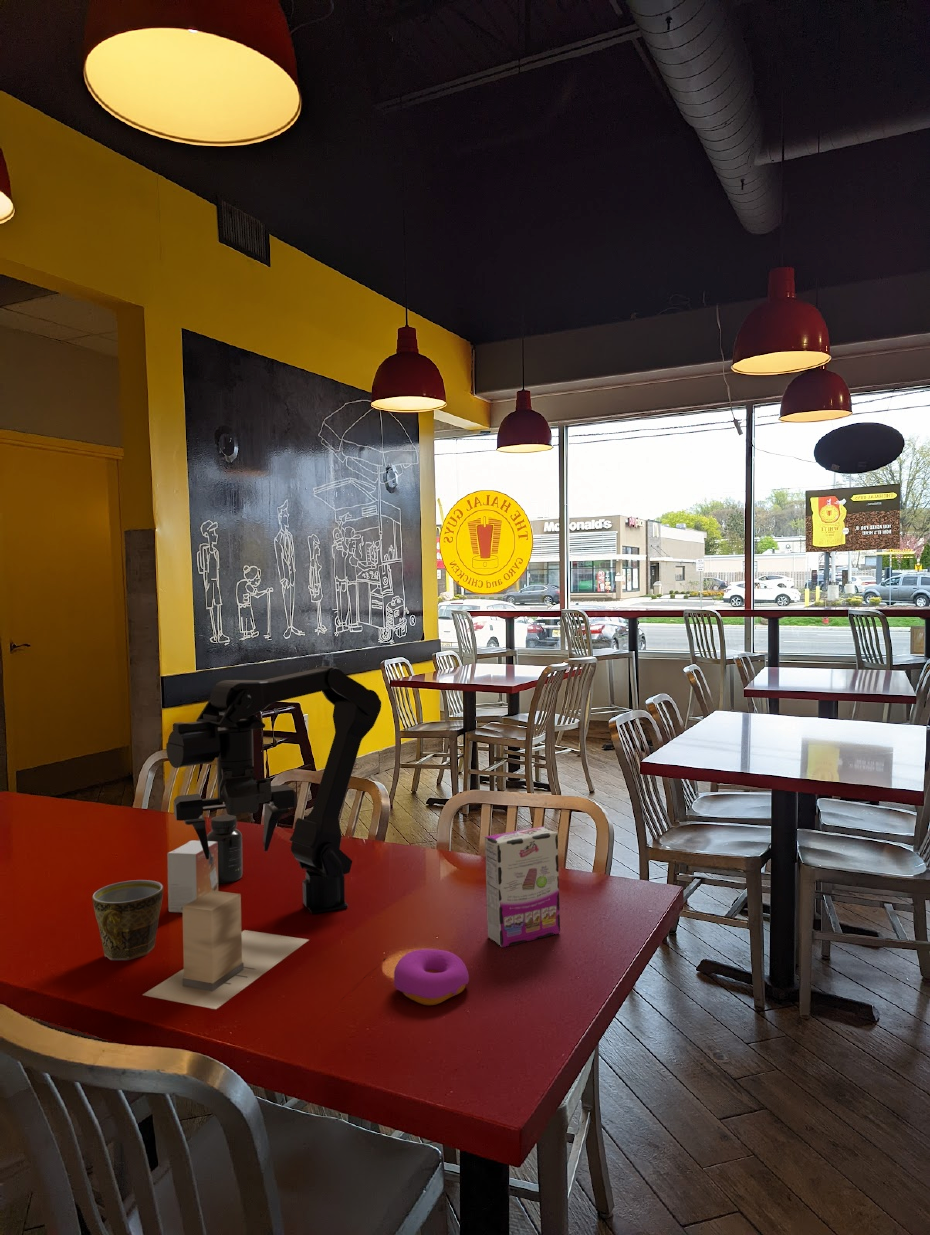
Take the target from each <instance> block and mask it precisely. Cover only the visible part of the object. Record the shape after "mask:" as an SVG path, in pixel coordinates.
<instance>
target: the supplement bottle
mask: <svg viewBox="0 0 930 1235" xmlns="http://www.w3.org/2000/svg"><path fill="white" fill-rule="evenodd" d="M237 820H238V819H237V815H233V816H232V815H229V814H223V815H221V814H220V815H217V816H213V817H212V818H211V819H210V829H211V831H210V832H208V834H207V840H208V841H214V842H218V885H224V884H231V883H235V882H237V881H239V880H240V879H242V877H243V834H242V832H241V831H240V830H239V829H237V828H238V821H237Z"/></svg>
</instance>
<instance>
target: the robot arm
mask: <svg viewBox="0 0 930 1235" xmlns="http://www.w3.org/2000/svg"><path fill="white" fill-rule="evenodd" d="M319 692H321V694H323V696H324V697H325V699H326V700H327V701H328V702H329V703H330V704H332V705H333V712H332V719H333V720H332V721H333V726H334V737H333V738H332V739H333V740H332V743H331V747H330V750H329V753H328V756H327V760H326V763H325V766H324V768H323V772H322V776H321V780H320V781H319V782H320V783H319V786H318V790H317V792H316V797H315V799H314V802H313V806H312V809H311V810H310V812H309V814H307V816H306V817H305V818H300V817H297V818H296V820H295V824H294V829H293V832H292V835H291V836H290V837H289V842H291V843H290V844H291V846H290V852H291V853H292V855H293V858H294V859H295V860H296V861H297V862H298V865H299V867H300V869H301V870H305V879H303V880H302V903H303V905H304V906H305V907H306V908H307V910H309V912H310V913H311V914H313V915H314V914H320V913H324V912H325V913H326V912H330V911H336V910H342V909H347V908H349V904H348V903H347V901H346V897H345V896H346V895H345V894H346V893H345V892H346V890H345V884H346V883H345V880H346V879H345V875H347V874H349V873H351V869H352V864H353V860H352V859H351V858H350V857H349V856H348V855H346V854H345V853H344V852H343V851H342V850H341V843H342V836H343V835H342V831H341V830H342V829H341V824H340V815H341V811H342V808H343V805H344V801H345V798H346V794H347V791H348V788H349V784H350V780H351V778H352V774H353V771H354V768H355V767H354V766H355V763H356V760H357V756H358V753H359V750H360V746H361V743H362V741H363V739H364V738H365V737H366V736H367V734H369V732H370V731H371V730H372V728H374V726H375V724H376V722H377V719H378V716H379V715H380V714H381V713H380V712H381V708H382V701H381V699H380V696H379V694H377V692H376V691H374V689H368V688H367V687H366V686H364V685H363V684H362V683H359V682H358V681H356V680H354V679H353V678H351V677H350V676H348V675H347V674H346V673H344V672H343V671H342V670H341V669H339V668H338V667H337V666H324V665H321V666H318V667H316V668H313V669H309V670H305V671H299V672H294V673H290V674H285V675H281V676H275V677H271V678H266V679H262V680H261V679H259V680H258V679H257V680H256V679H255V680H254V679H253V680H251V679H249V680H248V679H233V680H232V679H229V680H227V679H224V680H221V681H219V682H217V683H215V685H214V686H213V688H212V690H211V692H210V695H209V697H210V698H209V700H208V701H207V703H206V704H205V706H204V707H203V709H202V711H201V712H200V714H199V715H198V717H197V718H196V720H195V721H191V722H181V721H180V722H173V724H172V731H171V732H170V734H169V735H168V739H167V742H166V746H165V747H166V748H165V749H166V756H167V759H168V762H169V763H170V764H169V765H171V767H172V768H174V769H179V768H184V767H190V766H192V767H193V766H198V765H204V764H211V763H213V762H214V761H215V759H216V783H217V784H216V785H217V786H216V787H217V788H216V789H217V790H216V792H217V797H211V798H210V797H209V798H202V796H201V794H200V793H194V794H193V793H192V794H182V795H177V796H176V797H175V798H174V799H173V815H174V817H175V821H179V822H180V821H183V822H184V824H185V825H187V826H190V825H191V826H192V827H193V828H194V830H195V832H196V835H197V837H198V841H200V843H201V846H202V849H203V852H204V855H205V857H206V860H207V859H209V847H208V840H207V835H208V834H207V826H206V819H205V817H204V816H203V814H204V812H210V811H217V810H224V809H226V810H225V811H226V815H232V816H238V815H240V814H256V813H257V812H259V811H260V810H259V808H260V805H264V817H263V838H262V843H263V851H264V852H268V850H269V847H270V844H271V842H272V838H273V835H274V832H275V829H276V828H277V824H278V822H279V820H280V818H281V817H282V816H283V815H285V814H288V813H289V812H290V809H292V808H293V809H294V808H297V807H298V794H297V792H296V790H294V789H293V788H292V787H291V786H289V785H288V784H279V785H272V782H271V779H270V778H268V777H267V778H259V779H256V777H255V770H254V767H255V766H254V762H255V761H254V730H260V729H264V728H265V727H266V724H265V723H264V722H263V721H262V720H260V719H259V718H258V717H257V715H256V714H258V713H260V712H263V711H264V710H265V709H266V708H267V707H270V706H271V705H272V704H275V703H277V702H283V701H286V700H290V699H294V698H299V697H303V696H308V695H313V694H316V693H319Z"/></svg>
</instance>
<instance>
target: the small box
mask: <svg viewBox="0 0 930 1235" xmlns="http://www.w3.org/2000/svg"><path fill="white" fill-rule="evenodd" d="M208 847H209V859H207V860H206V857H205V855H204V852H203V849H202V846H201V843H200V840H189V841H188V842H186V843H185V844H183V845H180V846H178V847H177V848H175V849H173V850H172V851H169V852H167V856H166V857H167V898H168V899H167V900H168V901H167V903H168V904H167V905H168V906H167V907H168V913H181V914H183V906H184V905H186V904H188V903H190V902H192V901H194V900H196V899H198V898H200V897H202V896H203V895H205V894H207V893H209V892H211V891H219V884H218V842H214V841H208Z"/></svg>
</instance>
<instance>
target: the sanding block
mask: <svg viewBox="0 0 930 1235" xmlns="http://www.w3.org/2000/svg"><path fill="white" fill-rule="evenodd" d="M241 899H242V895H241V893H234V892H229V891H227V892H226V891H220V890H218V891H211V892H209V893H207V894H205V895H203V896H202V897H200V898H198V899H196V900H194V901H192V902H190V903H188V904H186V905H184V906H183V913H182V946H183V947H182V948H183V969H184V978H183V979H182V985H183V986H185V987H191V988H196V989H201V990H207V991H212V992H213V991H214V990H215V989H217V988H218V987H220V986H221V985H222V984H224V983H225V982H227V981H228V980H230V979H231V978H232V977H234V976H235V975H237V974H238V973H239V972H241V971H242V970H244V966H243V963H242V935H241V932H242V900H241Z"/></svg>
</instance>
